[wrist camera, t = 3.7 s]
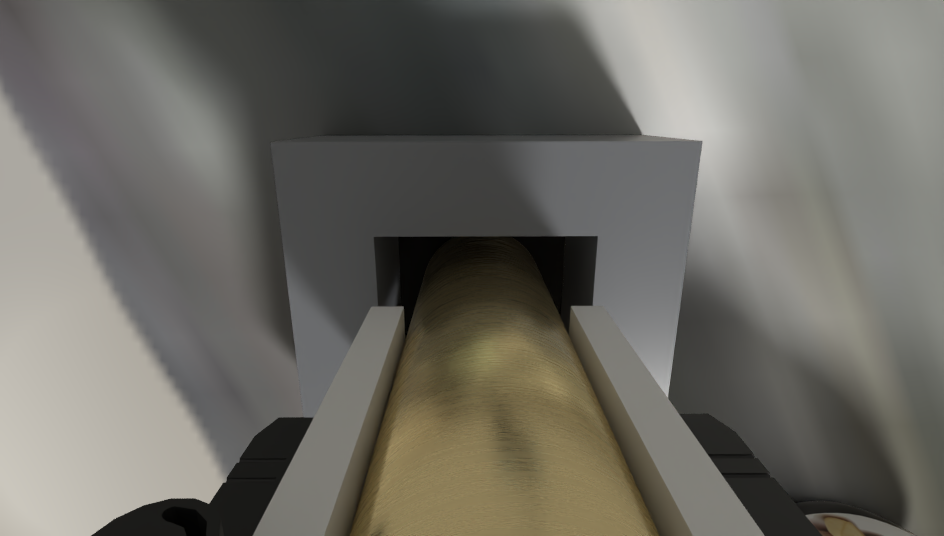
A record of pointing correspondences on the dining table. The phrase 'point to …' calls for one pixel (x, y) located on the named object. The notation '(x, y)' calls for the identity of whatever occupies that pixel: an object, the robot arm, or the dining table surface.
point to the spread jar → (848, 520)
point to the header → (482, 227)
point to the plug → (494, 414)
